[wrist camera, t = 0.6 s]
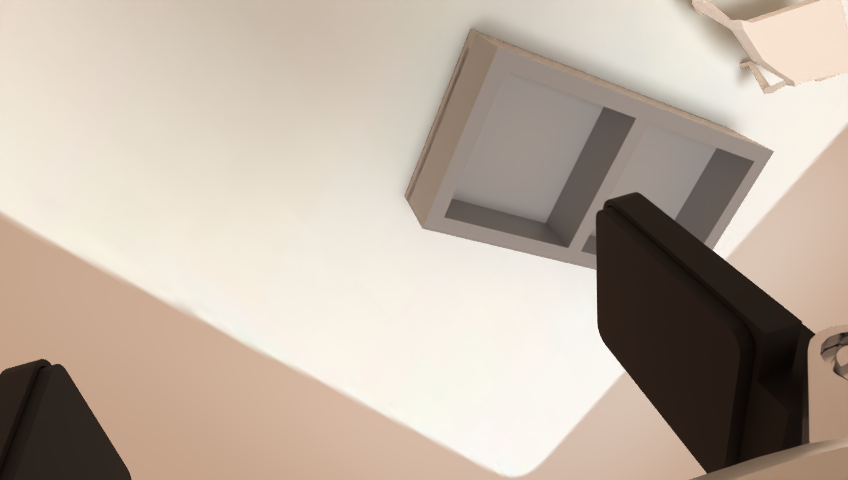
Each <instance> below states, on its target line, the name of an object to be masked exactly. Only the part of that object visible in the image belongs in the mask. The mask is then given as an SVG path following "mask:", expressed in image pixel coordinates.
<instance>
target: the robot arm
mask: <svg viewBox="0 0 848 480" xmlns="http://www.w3.org/2000/svg"><path fill="white" fill-rule="evenodd" d="M596 264H597V322H598V329H599V333H600V336H601V338H602V340H603V342H604V343H605V345H606V346H607V347H608V348H609V350H610V351H611V352H612V354H613V355H614V356H615V357H616V359H617V360H618V361H619V362H620V364H621V365H622V366H623V367H624V369H625V370H626V371H627V372H628V374H629V375H630V376H631V378H632V379H633V380H634V381H635V383H636V384H637V385H638V386H639V388H640V389H641V390H642V392H643V393H644V394H645V395H646V397H647V398H648V399H649V400H650V402H651V403H652V404H653V406H654V407H655V408H656V409H657V410H658V412H659V413H660V414H661V415H662V417H663V418H664V419H665V421H666V422H667V423H668V425H669V426H670V427H671V428H672V430H673V431H674V432H675V433H676V434H677V436H678V437H679V438H680V440H681V441H682V442H683V443H684V445H685V446H686V447H687V449H688V450H689V451H690V452H691V454H692V455H693V456H694V457H695V459H696V460H697V461H698V463H700V465H701V466H702V468H703V469H704V470H705V471H706V473H707V474H705V475H702V476H699V477H697V478H693V479H690V480H848V325H841V326H834V327H829V328H827V329H824V330H822V331H819V332H818V333H817V334H815V333H813V332H812V331H811V330H810V329H808V328H807V327H806V326H804V325H803V324H802V321H801V320H799V319H798V318H797V317H796V316H794V315H793V314H792V313H791V312H789V311H788V310H787V309H785V308H784V307H783V306H782V305H781V304H779V303H778V302H777V301H775V300H774V299H773V298H772V297H770V296H769V295H768V294H767V293H765V292H764V291H763V290H762V289H760V288H759V287H758V286H757V285H755V284H754V283H753V282H752V281H750V280H749V279H748V278H747V277H745V276H744V275H743V274H741V273H740V272H739V271H737V270H736V269H735V268H734V267H733V266H731V265H730V264H729V263H728V262H726V261H725V260H724V259H723V258H721V257H720V256H719V255H718V254H716V253H715V252H714V251H712V250H711V249H710V248H709V247H707V246H706V245H705V244H704V243H702V242H701V241H700V240H699V239H697V238H696V237H695V236H694V235H692V234H691V233H690V232H689V231H687V230H686V229H685V228H684V227H682V226H681V225H680V224H678V223H677V222H676V221H675V220H673V219H672V218H671V217H670V216H668V215H667V214H666V213H665V212H663V211H662V210H661V209H660V208H658V207H657V206H656V205H655V204H653V203H652V202H651V201H649V200H648V199H647V198H646V197H644V196H643V195H642V194H640V193H638V192H633V193H630V194H626V195H623V196H619V197H616V198H612V199H608V200H607V201H605V203H604V206H603V209H602V210H599V211H598V212H597V214H596ZM0 480H131V476H130V473H129V471H128V469H127V467H126V466H125V464H124V462H123V461H122V459H121V457H120V456H119V454H118V453H117V451H116V449H115V448H114V446H113V445H112V443H111V441H110V440H109V438H108V437H107V435H106V434H105V432H104V430H103V429H102V427H101V425H100V424H99V422H98V421H97V419H96V417H95V416H94V414H93V413H92V411H91V409H90V408H89V406H88V405H87V403H86V401H85V400H84V398H83V397H82V395H81V393H80V392H79V390H78V388H77V387H76V385H75V384H74V382H73V381H72V379H71V377H70V376H69V374H68V372H67V371H66V369H65V368H64V367H63V366H62V365H60V364H55V365H51V364H50V362H48V361H47V360H44V359H40V360H37V361H33V362H29V363H26V364H22V365H19V366H15V367H12V368H8V369H6V370H4V371H2V373H1V374H0Z"/></svg>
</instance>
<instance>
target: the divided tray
mask: <svg viewBox="0 0 848 480" xmlns="http://www.w3.org/2000/svg"><path fill="white" fill-rule="evenodd" d="M773 152H774V151H772V150H770V149H768V148H766V147H764V146H762V145H760V144H758V143H756V142H754V141H752V140H750V139H748V138H746V137H744V136H742V135H740V134H739V133H737V132H735V131H733V130H731V129H729V128H726V127H724V126H721V125H718V124H716V123H713V122H711V121H708V120H705V119H703V118H700V117H698V116H695V115H692V114H690V113H687V112H685V111H682V110H679V109H677V108H674V107H672V106H669V105H666V104H664V103H661V102H659V101H656V100H653V99H651V98H648V97H646V96H643V95H640V94H638V93H635V92H633V91H630V90H627V89H625V88H622V87H620V86H617V85H614V84H612V83H609V82H607V81H604V80H601V79H599V78H596V77H594V76H591V75H588V74H586V73H583V72H581V71H578V70H575V69H573V68H570V67H568V66H565V65H562V64H560V63H557V62H555V61H552V60H549V59H547V58H544V57H542V56H539V55H536V54H534V53H531V52H529V51H526V50H523V49H521V48H518V47H516V46H513V45H510V44H508V43H505V42H503V41H500V40H497V39H495V38H492V37H490V36H487V35H484V34H482V33H479V32H477V31H474V30H470V33H469V35H468V38H467V40H466V43H465V45H464V48H463V50H462V53H461V55H460V58H459V60H458V63H457V66H456V68H455V71H454V73H453V76H452V78H451V81H450V83H449V86H448V88H447V91H446V93H445V96H444V98H443V101H442V103H441V106H440V108H439V111H438V113H437V116H436V118H435V121H434V123H433V126H432V129H431V131H430V134H429V136H428V139H427V141H426V144H425V146H424V149H423V151H422V154H421V156H420V159H419V161H418V164H417V166H416V169H415V171H414V174H413V176H412V179H411V181H410V184H409V187H408V189H407V192H406V194H405V198H406V199H407V201H408V203H409V205H410V207H411V208H412V210H413V212H414V214H415V216H416V217H417V219H418V221H419V223H420V225H421V227H422V228H423V229H427V230H431V231H436V232H440V233H444V234H448V235H452V236H457V237H461V238H465V239H469V240H473V241H478V242H482V243H486V244H490V245H495V246H499V247H503V248H507V249H511V250H516V251H520V252H524V253H528V254H532V255H537V256H541V257H545V258H549V259H554V260H558V261H562V262H566V263H570V264H575V265H579V266H583V267H587V268H591V269H596V270H597V264H596V214H597V212H598V211H599V210H602V209H603V206H604V203H605V201H607V200H608V199H612V198H616V197H619V196H623V195H626V194H630V193H633V192H638V193H640V194H642V195H643V196H644V197H646V198H647V199H648V200H649V201H651V202H652V203H653V204H655V205H656V206H657V207H658V208H660V209H661V210H662V211H663V212H665V213H666V214H667V215H668V216H670V217H671V218H672V219H673V220H675V221H676V222H677V223H678V224H680V225H681V226H682V227H684V228H685V229H686V230H687V231H689V232H690V233H691V234H692V235H694V236H695V237H696V238H697V239H699V240H700V241H701V242H702V243H704V244H705V245H706V246H707V247H709V248H710V249H711V250H713V248H714V247H715V245H716V244H717V242H718V240H719V239H720V237H721V235H722V234H723V232H724V231H725V229H726V227H727V226H728V224H729V223H730V221H731V219H732V218H733V216H734V215H735V213H736V211H737V210H738V208H739V207H740V205H741V203H742V202H743V200H744V199H745V197H746V195H747V194H748V192H749V191H750V189H751V187H752V186H753V184H754V183H755V181H756V179H757V178H758V176H759V175H760V173H761V171H762V170H763V168H764V166H765V165H766V163H767V162H768V160H769V158H770V157H771V155H772V154H773Z"/></svg>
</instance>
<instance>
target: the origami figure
mask: <svg viewBox="0 0 848 480" xmlns="http://www.w3.org/2000/svg"><path fill="white" fill-rule="evenodd" d="M692 5H693V7H694V8H695V10H696V11H697V13H698V14H702V13H705V14H707V15H708V16H709V17H711V18H712V19H714V20H716V21H717V22H719V23H721V24H722V25H724V26H726V27H727V28H729V29H731V31H732V32H733V34H734V35H735V37H736V38H737V39H738V41H739V42H740V44H741V45H742V46H743V48H744V49H745V51H746V52H747V53H748V55H749V56H750V58H751V59H752V60H753V61H755V62H756V63H758V64H759V65H761V66H762V67H764V68H765V69H767V70H768V71H770V72H772V73H773V74H775V75H777V76H778V77H780V78H782V79H784V81H781V82H779V83H777V84H775V85H772V86H770V85H769V84H768V82H767V81H766V79H765V78H764V77H763V75H762V74H761V72H760V71H759V70H758V68H757V67H756V66H755V64H754V63H753V61H750V62H745V63H742V64H740V67H741V68H744V67H748V66H749V67H750V69H751V70H752V72H753V74H754V76H755V78H756V80H757V81H758V83H759V85H760V87H761V89H762V90H763V92H764V94H766V93H773V92H774V91H776V90H778V89H780V88H782V87H783V86H785V85H789V86H797V85H799V84H801V83H803V82H807V81H811V80H815V81H822V80H824V79H827V78H830V77H833V76H836V75H839V74H842V73H846V72H848V29H847V24H846V20H845V15H844V10H843V6H842V1H841V0H807V1H804V2H801V3H798V4H795V5H792V6H789V7H786V8H783V9H780V10H776V11H773V12H770V13H767V14H764V15H761V16H758V17H755V18H752V19H749V20H745V21H743V20H731V19H730V18H729V17H728V16H726V15H725V14H724V13H723V12H721V11H720V10H719V9H718V8H716V7H715V6H714V5H713V4H711V3H710V2H709V1H708V0H692Z"/></svg>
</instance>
